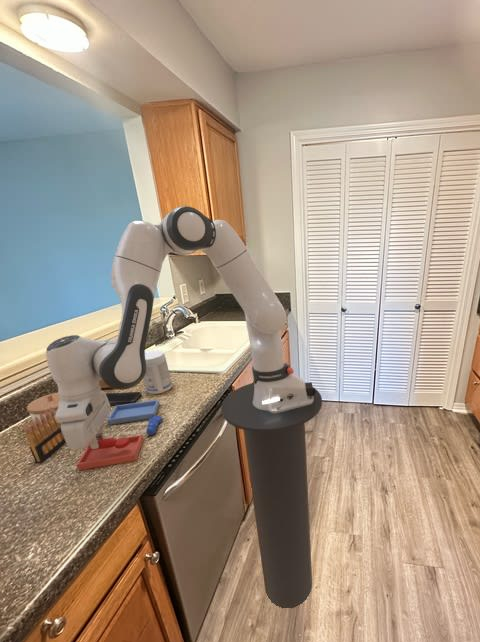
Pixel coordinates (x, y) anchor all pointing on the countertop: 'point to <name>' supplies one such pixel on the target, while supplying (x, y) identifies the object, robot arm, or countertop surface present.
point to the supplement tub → (156, 373)
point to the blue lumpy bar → (153, 424)
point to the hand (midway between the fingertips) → (98, 443)
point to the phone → (122, 398)
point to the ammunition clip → (44, 436)
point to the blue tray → (133, 412)
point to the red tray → (111, 454)
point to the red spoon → (112, 443)
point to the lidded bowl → (43, 405)
